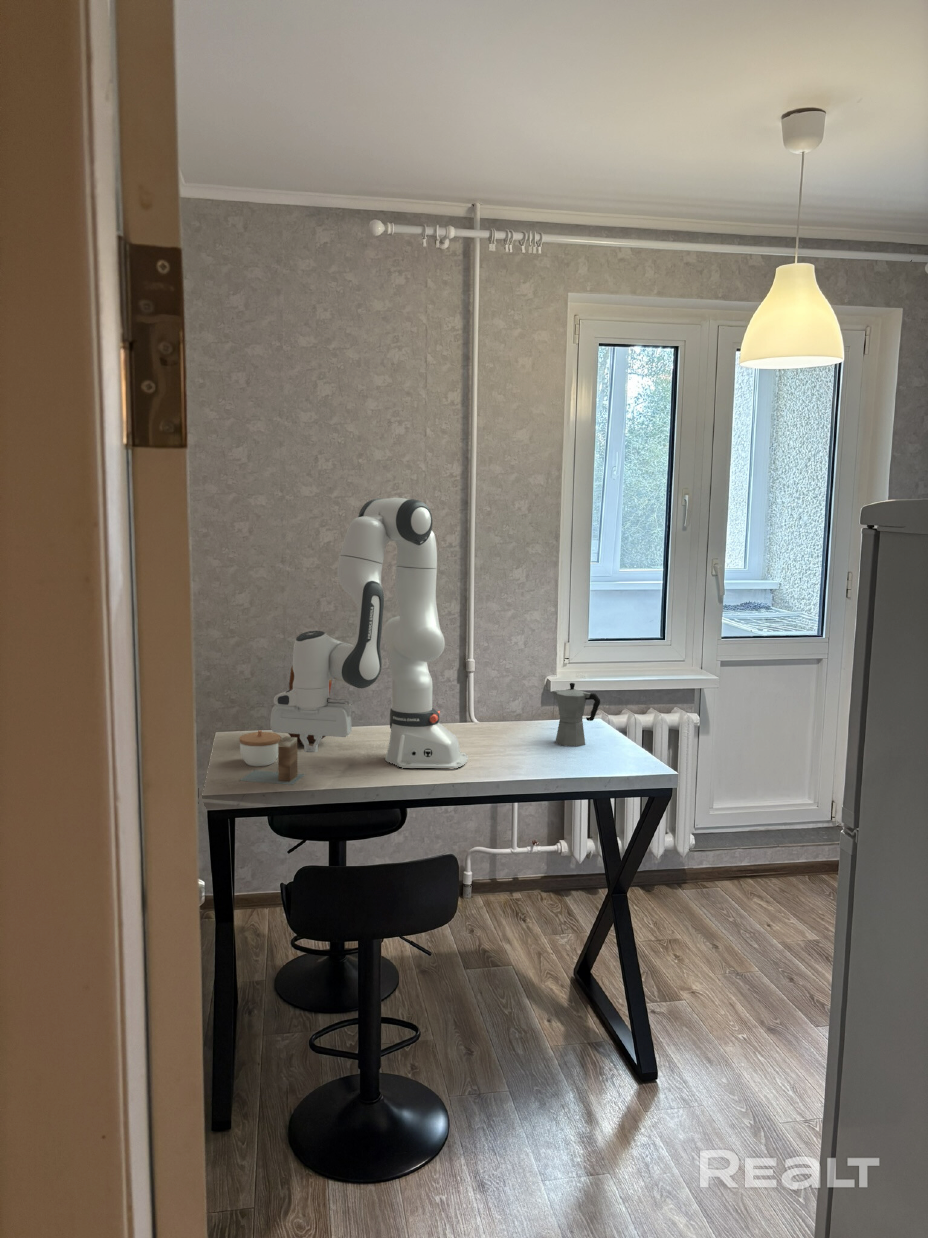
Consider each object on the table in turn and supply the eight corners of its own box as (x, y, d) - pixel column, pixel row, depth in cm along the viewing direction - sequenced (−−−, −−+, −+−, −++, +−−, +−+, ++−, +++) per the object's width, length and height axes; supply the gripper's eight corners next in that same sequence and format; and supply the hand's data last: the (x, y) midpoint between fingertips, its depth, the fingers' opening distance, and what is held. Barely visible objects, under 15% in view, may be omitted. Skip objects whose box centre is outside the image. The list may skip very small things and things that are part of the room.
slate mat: (305, 777, 237) (305, 774, 237) (292, 788, 229) (292, 784, 229) (254, 773, 240) (254, 770, 240) (239, 783, 231) (239, 780, 231)
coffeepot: (543, 743, 275) (545, 683, 272) (556, 736, 283) (557, 677, 281) (592, 750, 267) (594, 689, 265) (604, 743, 276) (606, 683, 273)
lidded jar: (281, 759, 253) (281, 725, 252) (280, 770, 243) (280, 735, 242) (241, 760, 252) (240, 726, 250) (238, 772, 241) (237, 736, 240)
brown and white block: (297, 776, 236) (297, 737, 234) (289, 781, 231) (289, 742, 230) (286, 775, 236) (285, 736, 235) (278, 781, 231) (278, 741, 230)
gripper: (355, 697, 231) (355, 751, 232) (277, 692, 235) (277, 745, 236) (347, 702, 224) (347, 758, 226) (267, 697, 228) (267, 752, 230)
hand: (311, 751), depth 231 cm, fingers closed
